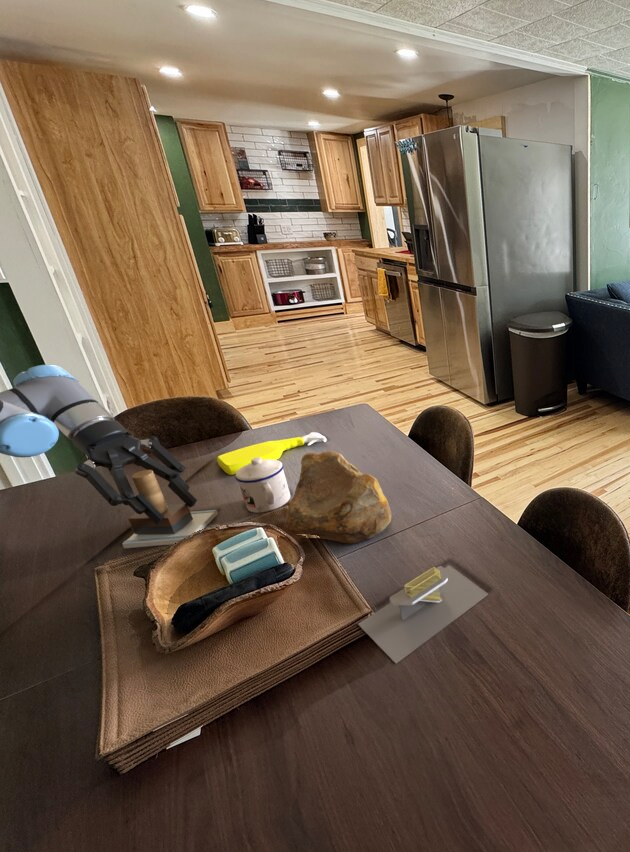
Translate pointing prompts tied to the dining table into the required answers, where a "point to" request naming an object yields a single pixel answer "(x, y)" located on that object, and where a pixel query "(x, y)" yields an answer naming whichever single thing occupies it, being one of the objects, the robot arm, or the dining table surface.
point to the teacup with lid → (263, 485)
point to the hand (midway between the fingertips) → (177, 512)
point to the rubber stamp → (173, 513)
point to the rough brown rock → (336, 501)
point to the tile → (196, 524)
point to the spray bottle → (263, 451)
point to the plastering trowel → (421, 611)
